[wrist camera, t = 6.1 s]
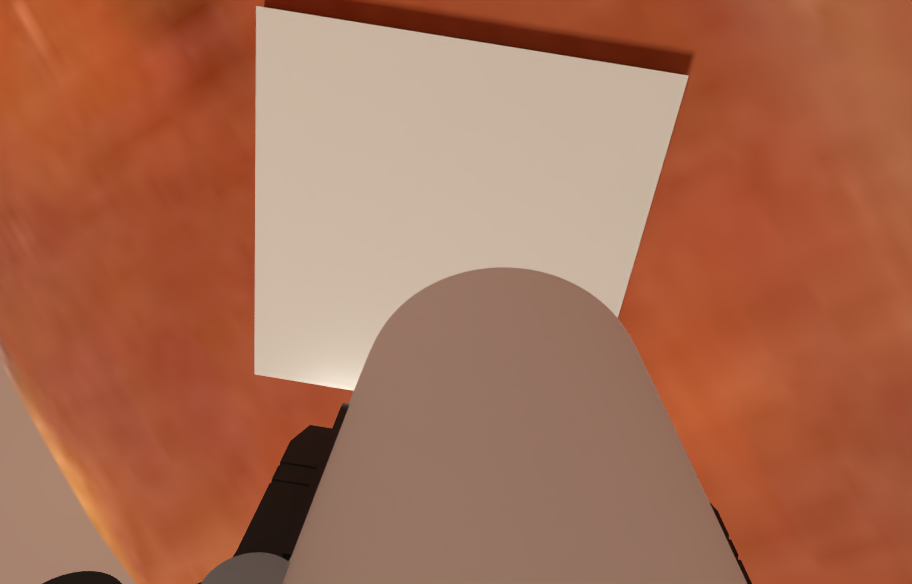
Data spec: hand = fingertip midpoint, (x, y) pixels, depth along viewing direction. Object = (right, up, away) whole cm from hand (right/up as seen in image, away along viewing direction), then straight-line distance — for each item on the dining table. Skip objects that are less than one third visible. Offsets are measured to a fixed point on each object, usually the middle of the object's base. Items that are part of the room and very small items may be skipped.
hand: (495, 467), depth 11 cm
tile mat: (-1, +6, +17) cm, 18 cm away
